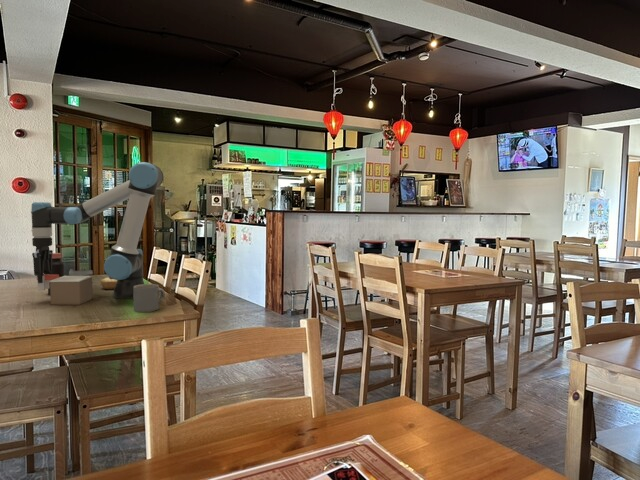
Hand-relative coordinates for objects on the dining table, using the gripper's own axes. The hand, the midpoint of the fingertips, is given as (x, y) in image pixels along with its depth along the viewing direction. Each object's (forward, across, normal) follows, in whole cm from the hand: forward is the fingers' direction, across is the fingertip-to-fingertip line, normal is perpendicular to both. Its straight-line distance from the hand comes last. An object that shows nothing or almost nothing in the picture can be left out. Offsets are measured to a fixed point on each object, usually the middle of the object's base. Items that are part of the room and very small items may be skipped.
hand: (43, 289), depth 201 cm
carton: (+6, 0, +12) cm, 13 cm away
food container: (+6, -31, +2) cm, 32 cm away
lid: (-4, 0, +8) cm, 9 cm away
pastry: (+6, -35, +18) cm, 40 cm away
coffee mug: (+6, +15, +50) cm, 53 cm away
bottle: (+6, -18, -3) cm, 19 cm away
